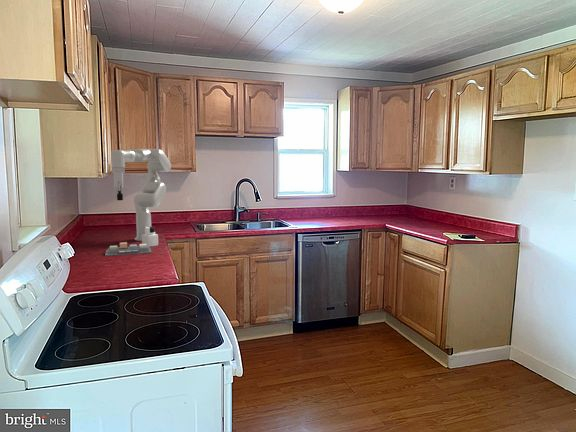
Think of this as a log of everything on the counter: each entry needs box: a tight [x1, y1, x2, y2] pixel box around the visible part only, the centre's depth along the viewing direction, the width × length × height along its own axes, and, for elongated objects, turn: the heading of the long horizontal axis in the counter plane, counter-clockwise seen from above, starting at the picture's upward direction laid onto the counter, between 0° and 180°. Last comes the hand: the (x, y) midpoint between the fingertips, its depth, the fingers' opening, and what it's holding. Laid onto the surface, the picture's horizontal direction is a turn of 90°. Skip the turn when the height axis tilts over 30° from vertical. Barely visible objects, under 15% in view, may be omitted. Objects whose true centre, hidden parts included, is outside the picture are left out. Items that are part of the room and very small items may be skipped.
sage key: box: [109, 245, 118, 250], centre depth 243 cm, size 4×4×2 cm
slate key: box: [129, 244, 138, 249], centre depth 247 cm, size 4×4×2 cm
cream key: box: [138, 243, 147, 248], centre depth 249 cm, size 4×4×2 cm
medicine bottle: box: [141, 226, 159, 248], centre depth 264 cm, size 7×7×12 cm
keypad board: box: [104, 245, 153, 257], centre depth 246 cm, size 14×25×2 cm, turn 111°
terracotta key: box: [119, 241, 128, 248], centre depth 245 cm, size 4×4×2 cm
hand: (120, 200), depth 259 cm, fingers closed
